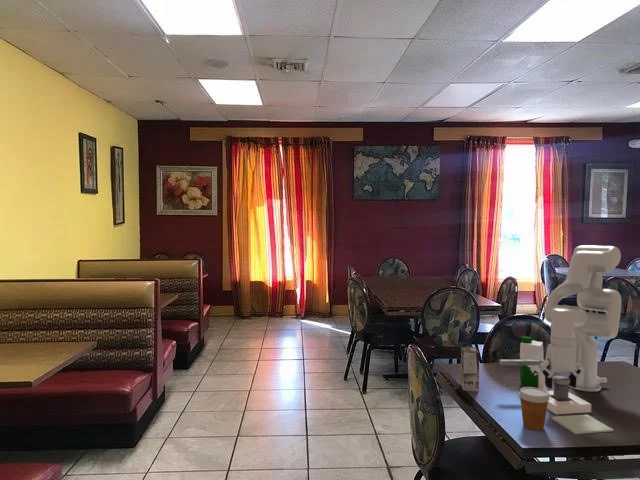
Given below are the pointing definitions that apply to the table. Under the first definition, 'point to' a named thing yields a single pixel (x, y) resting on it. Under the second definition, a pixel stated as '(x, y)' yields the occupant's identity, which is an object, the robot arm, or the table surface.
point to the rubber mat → (581, 424)
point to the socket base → (563, 407)
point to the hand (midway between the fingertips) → (560, 387)
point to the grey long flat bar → (522, 362)
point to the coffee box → (470, 369)
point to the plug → (561, 388)
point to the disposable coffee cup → (534, 407)
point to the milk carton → (530, 352)
